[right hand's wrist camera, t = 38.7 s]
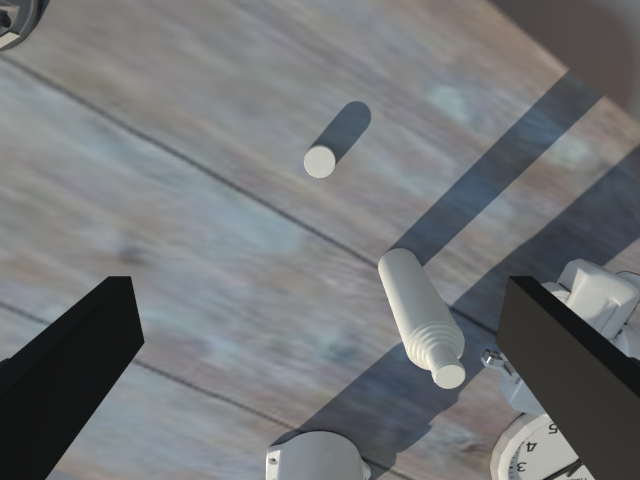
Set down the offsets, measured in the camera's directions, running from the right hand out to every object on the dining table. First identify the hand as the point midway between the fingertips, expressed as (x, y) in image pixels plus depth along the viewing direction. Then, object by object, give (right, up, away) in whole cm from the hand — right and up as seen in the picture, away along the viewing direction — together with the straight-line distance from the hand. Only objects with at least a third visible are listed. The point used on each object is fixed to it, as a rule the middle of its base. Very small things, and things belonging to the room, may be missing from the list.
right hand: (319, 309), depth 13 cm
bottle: (+11, -1, +38) cm, 39 cm away
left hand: (+22, -8, +30) cm, 38 cm away
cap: (0, +12, +31) cm, 33 cm away
